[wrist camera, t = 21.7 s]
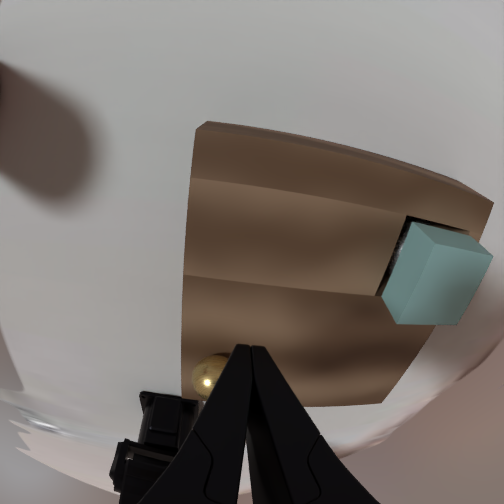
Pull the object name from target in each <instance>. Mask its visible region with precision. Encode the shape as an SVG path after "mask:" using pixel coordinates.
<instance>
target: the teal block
mask: <svg viewBox="0 0 504 504" xmlns="http://www.w3.org/2000/svg"><path fill="white" fill-rule="evenodd" d="M492 258H493V255H492V254H490V253H489V252H488V251H487V250H486V249H485V248H484V247H483V246H482V245H480V244H479V243H478V242H477V241H476V240H475V239H473V238H472V237H471V236H469V235H465V234H461V233H457V232H453V231H449V230H445V229H441V228H437V227H433V226H429V225H425V224H420V223H416V222H412V224H411V226H410V229H409V232H408V234H407V237H406V240H405V242H404V245H403V247H402V250H401V252H400V255H399V257H398V260H397V262H396V264H395V267H394V269H393V271H392V274H391V276H390V278H389V281H388V283H387V285H386V287H385V290H384V292H383V294H382V296H381V297H382V299H383V300H384V302H385V304H386V306H387V308H388V309H389V311H390V313H391V315H392V317H393V319H394V320H395V322H396V324H413V325H457V323H458V322H459V320H460V318H461V317H462V315H463V313H464V312H465V310H466V308H467V307H468V305H469V303H470V301H471V299H472V298H473V296H474V294H475V292H476V290H477V288H478V287H479V285H480V283H481V281H482V279H483V277H484V275H485V273H486V271H487V269H488V267H489V265H490V263H491V261H492Z"/></svg>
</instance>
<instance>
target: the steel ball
mask: <svg viewBox="0 0 504 504" xmlns="http://www.w3.org/2000/svg"><path fill="white" fill-rule="evenodd" d="M411 224H412V222H404V224H403V227H402V229H401V232H400V235H399V238H398V240H397V243H396V245H395V248H394V251H393V253H392V256H391V258H390V261H389V263H388V265H387V268H386V271H387V272H388V273H389V274H390V275H391V274H392V271H393V269H394V267H395V264H396V262H397V260H398V257H399V255H400V252H401V250H402V247H403V245H404V242H405V240H406V237H407V234H408V232H409V229H410V226H411Z"/></svg>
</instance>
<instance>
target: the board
mask: <svg viewBox="0 0 504 504" xmlns="http://www.w3.org/2000/svg"><path fill="white" fill-rule="evenodd" d="M493 204H494V202H492V201H490V200H489V199H487V198H486V197H484V196H483V195H481V194H479V193H478V192H476V191H474V190H473V189H471V188H469V187H468V186H466V185H464V184H463V183H461V182H459V181H457V180H455V179H452V178H449V177H447V176H444V175H441V174H438V173H436V172H433V171H430V170H427V169H424V168H421V167H418V166H415V165H412V164H409V163H406V162H403V161H399V160H396V159H393V158H390V157H386V156H383V155H379V154H376V153H372V152H369V151H365V150H361V149H357V148H353V147H350V146H346V145H341V144H337V143H333V142H329V141H324V140H320V139H315V138H311V137H306V136H301V135H296V134H291V133H286V132H280V131H275V130H269V129H263V128H257V127H250V126H243V125H236V124H229V123H221V122H212V121H207V122H205V123H204V124H202V125H201V126H200V127H198V128H197V129H196V132H195V140H194V149H193V158H192V167H191V177H190V187H189V198H188V210H187V222H186V236H185V252H184V271H183V294H182V332H181V389H182V398H185V399H193V400H201V401H207V400H205V399H203V398H201V397H200V396H199V395H198V394H197V393H196V391H195V390H194V388H193V385H192V372H193V369H194V367H195V366H196V364H197V363H198V362H199V361H200V360H202V359H203V358H205V357H207V356H211V355H220V356H224V357H227V358H228V359H229V357H230V355H231V353H232V351H233V349H234V347H235V345H236V344H238V343H239V344H248V345H250V346H251V345H260V346H264V347H266V349H267V351H268V352H269V354H270V355H271V357H272V359H273V360H274V362H275V363H276V365H277V367H278V368H279V370H280V371H281V373H282V375H283V376H284V378H285V379H286V381H287V382H288V384H289V386H290V387H291V389H292V390H293V392H294V393H295V395H296V397H297V398H298V400H299V401H300V403H301V404H302V406H303V407H326V406H350V405H365V404H378V403H382V402H383V400H384V399H385V398H386V397H387V395H388V394H389V393H390V391H391V390H392V389H393V388H394V386H395V385H396V384H397V382H398V381H399V380H400V378H401V377H402V376H403V374H404V373H405V371H406V370H407V369H408V367H409V366H410V364H411V363H412V361H413V360H414V359H415V357H416V356H417V354H418V353H419V351H420V350H421V348H422V347H423V345H424V344H425V342H426V340H427V339H428V337H429V336H430V334H431V333H432V331H433V329H434V328H435V326H436V325H413V324H396V322H395V320H394V319H393V317H392V315H391V313H390V311H389V309H388V308H387V306H386V304H385V302H384V300H383V299H382V297H381V296H382V294H383V292H384V290H385V287H386V285H387V283H388V281H389V278H390V276H391V275H390V274H389V273H388V272H387V271H386V268H387V265H388V263H389V261H390V258H391V256H392V253H393V251H394V248H395V245H396V243H397V240H398V238H399V235H400V232H401V229H402V227H403V224H404V221H405V218H406V215H409V216H413V217H417V218H421V219H425V220H429V221H430V224H429V226H433V227H437V228H441V229H445V230H449V231H453V232H457V233H461V234H465V235H469V236H471V237H472V238H473V239H475V240H476V241H477V242H478V243H479V240H480V238H481V235H482V233H483V231H484V228H485V226H486V223H487V220H488V218H489V215H490V212H491V210H492V207H493Z"/></svg>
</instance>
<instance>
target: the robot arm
mask: <svg viewBox="0 0 504 504" xmlns="http://www.w3.org/2000/svg"><path fill="white" fill-rule="evenodd" d="M139 397H140V402H141V406H142V410H143V420H142V424H141V429H140V434H139V438H138V443H137V442H133V441H130V440H129V439H126V438H125V440H124V442H118V445H117V449H116V453H115V457H114V460H113V463H112V466H111V470H110V473H109V476H110V478H111V479H112V480H113V485H114V491H116V492H119V493H121V494H120V500H119V504H237V499H238V492H239V485H240V478H241V470H242V463H243V455H244V448H245V440H246V443H247V453H248V462H249V472H250V481H251V490H252V499H253V504H380V503H379V502H378V501H377V500H376V499H375V498H374V497H373V496H372V495H371V494H369V492H368V491H367V490H366V489H365V488H364V487H363V486H362V485H361V484H360V482H358V480H357V479H356V478H355V477H354V476H353V475H352V474H351V473H350V472H349V470H347V468H346V467H345V466H344V465H343V463H342V462H341V461H340V460H339V459H338V457H337V456H336V455H335V453H334V452H333V451H332V449H331V448H330V446H329V445H328V444H327V442H326V441H325V439H324V438H323V436H322V435H320V432H319V430H318V429H317V427H316V426H315V424H314V423H313V421H312V420H311V418H310V417H309V415H308V413H307V412H306V410H305V409H304V407H303V406H302V404H301V403H300V401H299V400H298V398H297V397H296V395H295V393H294V392H293V390H292V389H291V387H290V386H289V384H288V382H287V381H286V379H285V378H284V376H283V375H282V373H281V371H280V370H279V368H278V367H277V365H276V363H275V362H274V360H273V359H272V357H271V355H270V354H269V352H268V351H267V349H266V347H264V346H260V345H251V346H250V345H248V344H239V343H238V344H236V345H235V347H234V349H233V351H232V353H231V355H230V357H229V359H228V361H227V363H226V365H225V367H224V368H223V370H222V372H221V374H220V376H219V378H218V380H217V382H216V384H215V386H214V388H213V390H212V391H211V393H210V395H209V397H208V399H207V401H206V403H205V405H204V407H203V408H202V410H201V412H200V414H199V416H198V404H199V403H198V401H196V400H191V399H184V398H177V397H170V396H164V395H158V394H153V393H147V392H140V395H139ZM128 458H130V459H128ZM127 459H128V460H127ZM132 459H133V460H132Z"/></svg>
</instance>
